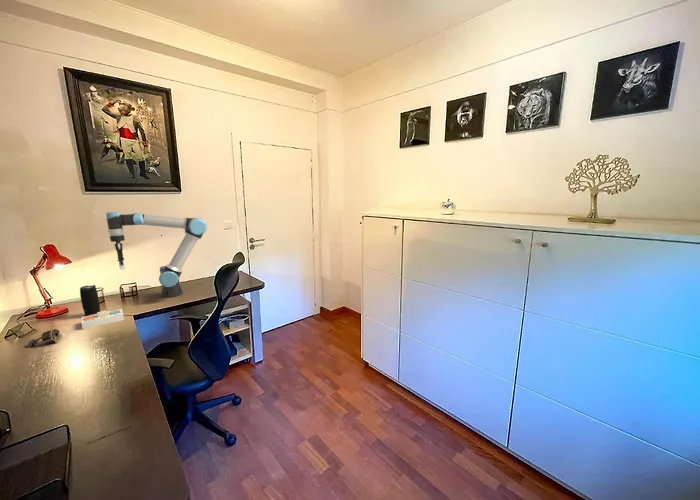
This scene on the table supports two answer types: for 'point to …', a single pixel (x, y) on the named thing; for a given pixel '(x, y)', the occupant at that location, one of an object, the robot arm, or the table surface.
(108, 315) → the button panel
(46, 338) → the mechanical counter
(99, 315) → the two dot button
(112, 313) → the one dot button
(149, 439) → the table surface
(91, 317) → the three dot button
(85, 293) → the portable speaker
